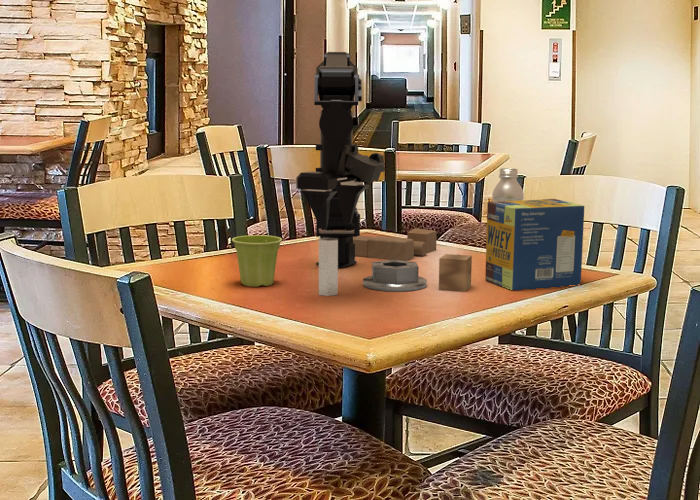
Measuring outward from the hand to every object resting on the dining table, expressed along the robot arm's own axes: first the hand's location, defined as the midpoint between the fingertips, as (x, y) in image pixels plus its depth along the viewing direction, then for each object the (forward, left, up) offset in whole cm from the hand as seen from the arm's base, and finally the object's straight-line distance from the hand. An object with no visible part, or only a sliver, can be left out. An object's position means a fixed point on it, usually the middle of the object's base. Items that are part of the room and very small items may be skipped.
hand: (336, 226), depth 178 cm
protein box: (+28, +27, -13) cm, 41 cm away
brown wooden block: (+17, +15, -12) cm, 26 cm away
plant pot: (-17, 0, -13) cm, 21 cm away
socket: (+6, +12, -12) cm, 18 cm away
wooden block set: (-12, +44, -13) cm, 48 cm away
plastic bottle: (+16, +45, -13) cm, 49 cm away
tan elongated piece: (-1, -1, -12) cm, 12 cm away
